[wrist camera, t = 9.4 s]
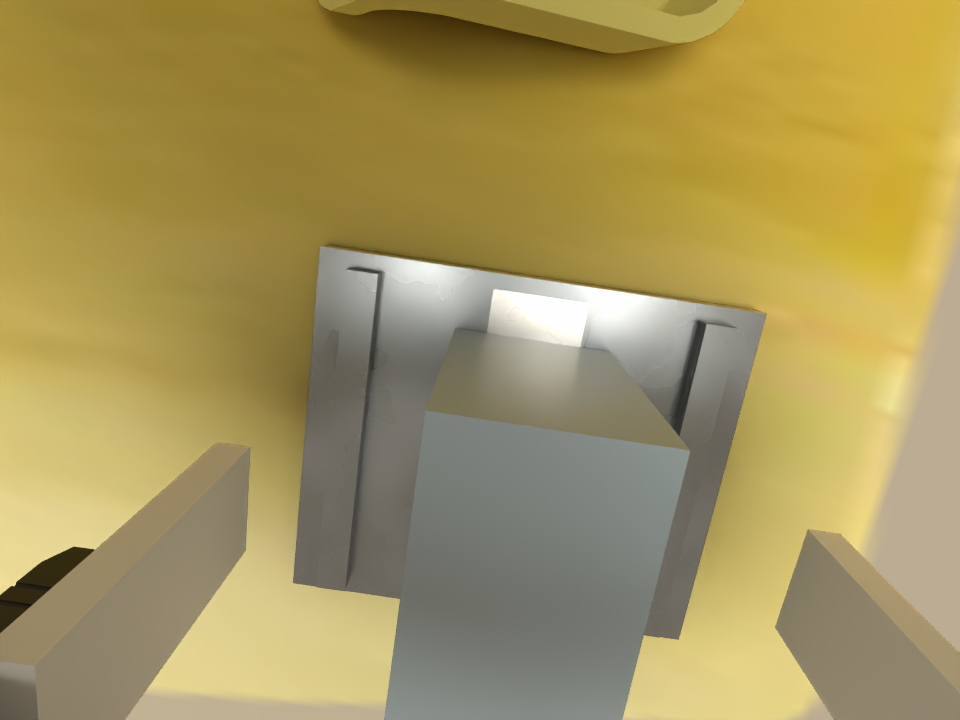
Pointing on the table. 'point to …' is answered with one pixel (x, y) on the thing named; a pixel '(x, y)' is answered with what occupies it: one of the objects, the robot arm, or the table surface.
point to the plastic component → (576, 18)
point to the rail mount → (413, 373)
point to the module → (532, 535)
